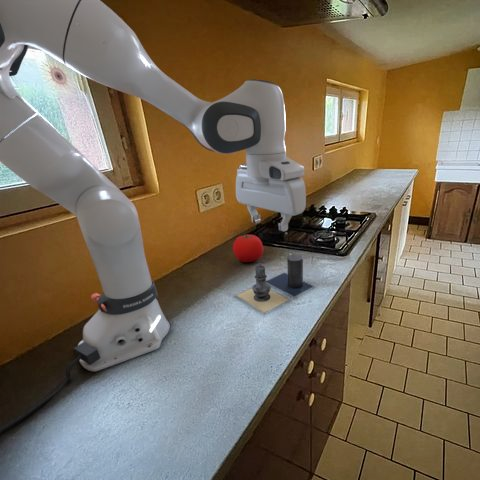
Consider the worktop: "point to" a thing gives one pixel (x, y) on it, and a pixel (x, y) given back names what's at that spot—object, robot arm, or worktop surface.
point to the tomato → (247, 248)
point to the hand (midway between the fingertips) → (269, 226)
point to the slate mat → (282, 284)
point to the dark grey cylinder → (295, 271)
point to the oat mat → (262, 306)
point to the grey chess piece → (261, 285)
